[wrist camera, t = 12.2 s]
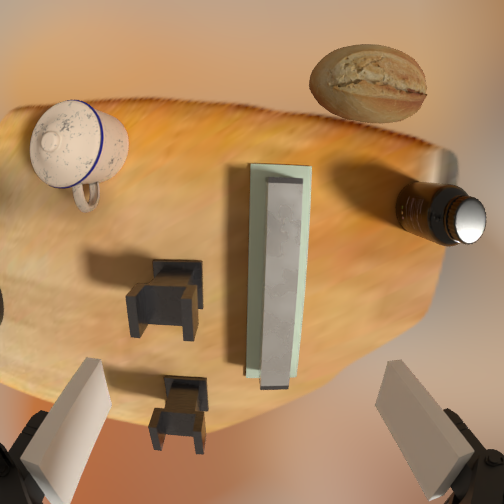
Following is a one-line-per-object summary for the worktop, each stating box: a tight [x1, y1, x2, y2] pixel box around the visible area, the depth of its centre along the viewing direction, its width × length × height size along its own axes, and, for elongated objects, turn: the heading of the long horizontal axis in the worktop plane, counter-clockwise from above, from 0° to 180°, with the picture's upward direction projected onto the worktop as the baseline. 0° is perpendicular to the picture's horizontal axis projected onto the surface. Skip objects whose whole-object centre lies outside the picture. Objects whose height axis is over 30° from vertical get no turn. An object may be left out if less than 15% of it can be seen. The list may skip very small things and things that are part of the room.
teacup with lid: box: [30, 100, 129, 212], centre depth 29 cm, size 12×9×12 cm
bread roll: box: [309, 44, 427, 123], centre depth 30 cm, size 10×15×8 cm, turn 101°
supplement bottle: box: [396, 182, 486, 247], centre depth 32 cm, size 7×7×12 cm
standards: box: [126, 260, 209, 454], centre depth 36 cm, size 6×23×10 cm, turn 179°
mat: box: [246, 164, 312, 378], centre depth 39 cm, size 7×28×1 cm, turn 179°
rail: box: [259, 177, 303, 390], centre depth 36 cm, size 4×25×4 cm, turn 179°
